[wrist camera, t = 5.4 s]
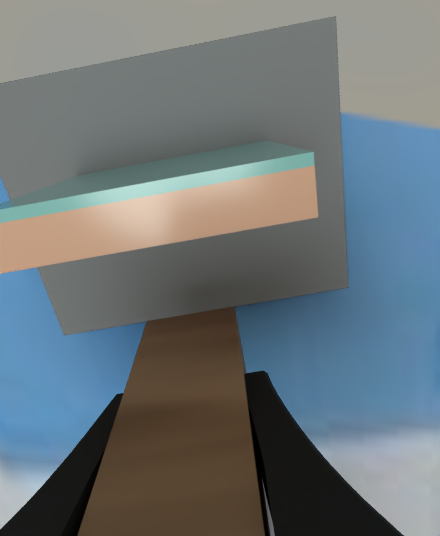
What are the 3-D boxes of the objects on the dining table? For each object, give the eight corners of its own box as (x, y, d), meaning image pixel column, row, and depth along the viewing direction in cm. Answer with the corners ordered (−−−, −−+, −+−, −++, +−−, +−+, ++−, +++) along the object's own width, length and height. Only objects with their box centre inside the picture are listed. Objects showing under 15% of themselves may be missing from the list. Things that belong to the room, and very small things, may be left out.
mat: (343, 282, 17) (348, 287, 17) (68, 328, 18) (64, 335, 17) (330, 20, 13) (335, 16, 13) (-24, 91, 14) (-34, 90, 13)
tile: (271, 177, 15) (318, 217, 8) (86, 211, 15) (-6, 274, 9) (266, 140, 14) (313, 151, 8) (75, 175, 15) (-33, 215, 8)
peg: (247, 377, 14) (303, 759, 6) (167, 390, 14) (103, 781, 6) (234, 306, 13) (280, 655, 4) (146, 320, 13) (28, 686, 4)
